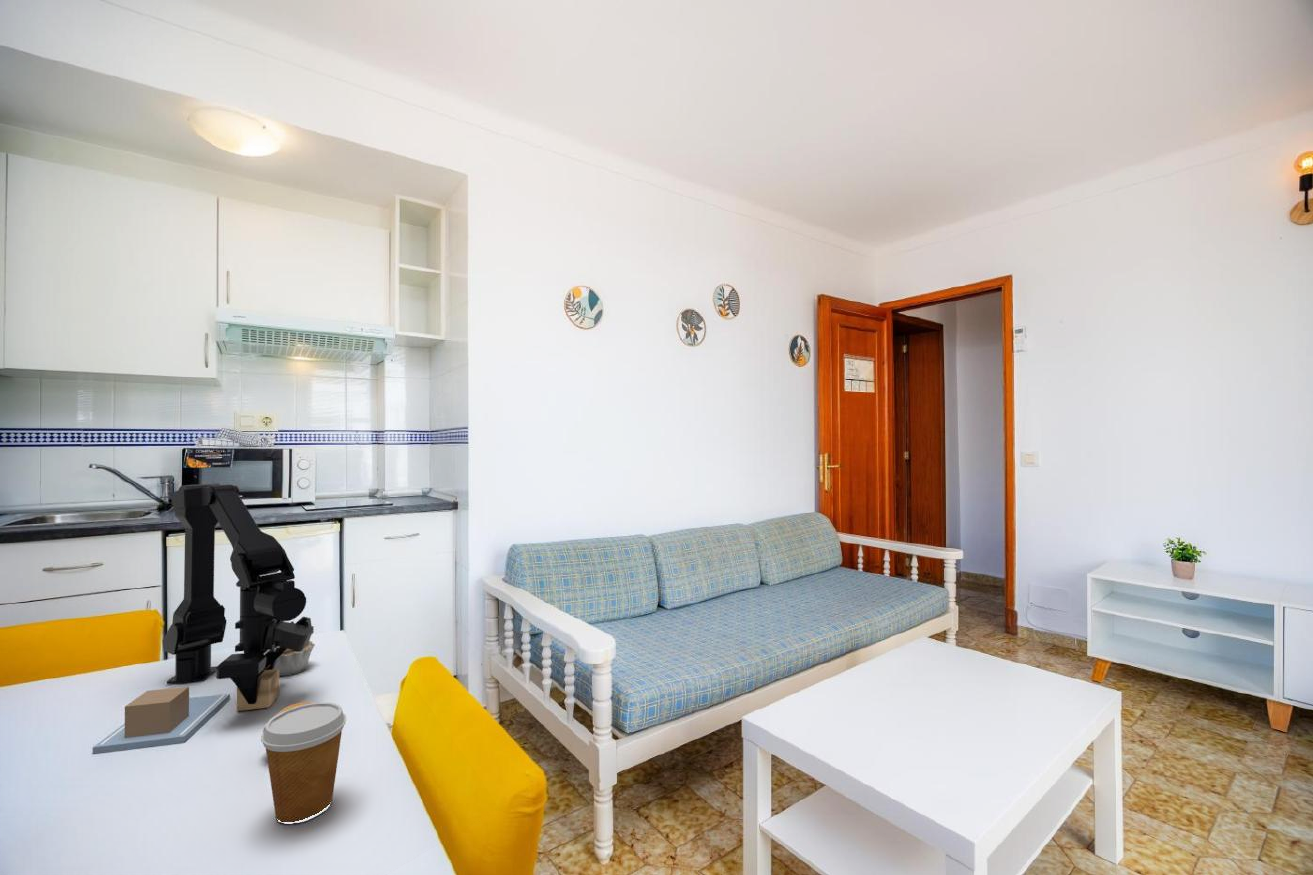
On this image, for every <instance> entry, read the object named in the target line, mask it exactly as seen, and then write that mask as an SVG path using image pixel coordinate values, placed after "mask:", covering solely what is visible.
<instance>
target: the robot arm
mask: <svg viewBox="0 0 1313 875" xmlns="http://www.w3.org/2000/svg"><path fill="white" fill-rule="evenodd" d="M171 496H172V497H171V504H172V507H173V509H174V516H175V518H176V519H177V520H178V522H179V523H180V524H181V525H182V526H183V527H184V572H183V573H184V574H183V578H184V579H183V600H181V602H180V604H179V605H178V606H177V608H176V609H175V611H174V612H173V615H172V621H171V622H172V624H171V625H170V626H169V628H168V630H167V631H166V633H165V635H164V637H163V639H162V641H161V642H162V648H163V652H165V653H168V654H170V655H174V656H175V657H174V659H175V660H174V661H175V665H174V668H175V669H174V671H175V672H174V673H175V674H174V676H172V677H170V678H169V679H168V680H167V681H166V685H167V684H168V685H169V684H180V683H182V684H183V683H191V682H200V681H205V680H207V679H208V678H209V677H210V676H211V675H212V674H214V673H215V677H216V678H215V679H217V680H223V679H230V680H231V681H232V682H233V683H234V684H235V686H236V688H237V687H238V689H239V690H240V692H241V693H242V695H243V696H244V698H245V700H246V701H247V703H248V704H255V703H256V701H257V696H258V691H259V685H260V679H261V674H262V673H263V672H264V671H265V670H274V667H275V664H276V661H277V659H278V657H279V656H280V655H282V654H283V653H284V652H285V651H286V650H287V649H291V650H292V651H295V652H300V651H302V650H303V649H304V648H305V647H306V646H307V645H308V642H309V640H310V641H311V637H312V635H313V634H314V626H313V625H312V619H311V617H307V616H302V617H300V619H298V620H297V621H296V622H295V621H293V620H295V619H297V617H299V616H300V615H301V614H302V612H304V610H305V608H306V605H307V597H306V595H305V593H304V591H303V590H301V589H300V588H298V587H295V583H296V582H295V581H294V579H295V578H296V577H295V574H294V570H295V568H294V566H293V564H292V562H291V560H290V559H289V557H288V554H287V552H286V551H285V550H286V549H284V547H283V546H282V545H281V544H280V542H279V541H278V540H277V539H276V538H275V537H274V536H273V535H271V534H268V533H266V532H263V531H262V530H261V529H260V528H259V526H258V525H257V523H256V521H255V519H254V517H253V516H252V515H251V513H250V511H249V510H248V508H247V506H246V504H245V503H244V501H243V500H242V498H241V497H240V490H239V487H238V486H237V485H234V484H231V483H230V484H219V483H202V484H200V483H199V484H187V485H186V484H185V485H184V484H183V485H180V487H178V490H175V491H173V493H172V495H171ZM218 524H219V525H220V527H221V529H222V530H223V532H224V534H225V536H226V538H227V540H228V541H229V543H230V545H231V547H232V552H231V555H230V557H229V560H230V563H231V564H230V565H231V569H232V571H233V573H234V575H235V576H236V578H237V579H238V581H237V582H236V583H235V585H236V587H237V588H239V620H238V621H236V622H235V623H234V624H235V625H234V628H235V630H238V629H239V643H237V644H236V645H234V652H235V653H232V654H230V655H229V656H227V657H226V658H225V659H224V660H223V661H221V662H220V663H219V664H218V665H216V666H212V645H215V644H221V643H223V641H224V638H225V632H226V628H227V619H226V616H225V614H226V613H225V612H226V611H225V610H226V608H225V606H224V605H223V604H220V602H219V601H218V600H217V599H216V598H215V592H214V590H215V589H214V588H215V544H216V543H215V542H216V541H215V537H216V535H215V534H216V526H217V525H218ZM237 652H241V653H237Z"/></svg>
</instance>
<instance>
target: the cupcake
mask: <svg viewBox="0 0 1313 875" xmlns="http://www.w3.org/2000/svg"><path fill="white" fill-rule="evenodd" d="M315 645H316V643H313V640H312V641H311V639H310V640H309V642H308V645H307V646H306V647H305V648H304V649H303V650H302V651H300V652H295V651H292V650H291V649H287V650H286V651H285V652H284V653H283V654H282V655H280V656H279V657H278V659H277V661H276V664H275V667H274V670H275V669H279V677H285V676H286V677H287V676H291V675H295V674H299V673H301V672H303V671H304V670H306V669H305V668H307V667H308V664H309V660H310V657H311V655H312V654H311V653H312V651H313V650H314V648H315Z"/></svg>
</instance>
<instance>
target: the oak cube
mask: <svg viewBox="0 0 1313 875" xmlns="http://www.w3.org/2000/svg"><path fill="white" fill-rule="evenodd" d="M279 696H280V676H279V669H275V670H265V671H264V672H263V673H262V674H261V679H260V685H259V691H258V696H257V701H256V703H255V704H248V703H247V701H246V700H245V698H244V696H243V695H242V693H241V692H240V690H239V689H238V687H237V686H236V712H238V711H240V712H241V711H249V710H257V709H267V708H270V707H271V706H272V704H273V703H274V702H275V701H276V700H277V698H278V697H279Z"/></svg>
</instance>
